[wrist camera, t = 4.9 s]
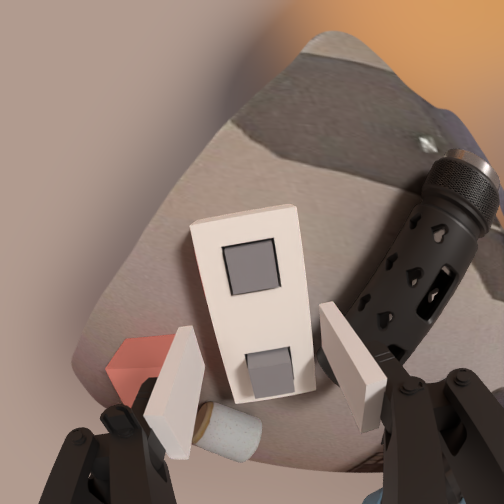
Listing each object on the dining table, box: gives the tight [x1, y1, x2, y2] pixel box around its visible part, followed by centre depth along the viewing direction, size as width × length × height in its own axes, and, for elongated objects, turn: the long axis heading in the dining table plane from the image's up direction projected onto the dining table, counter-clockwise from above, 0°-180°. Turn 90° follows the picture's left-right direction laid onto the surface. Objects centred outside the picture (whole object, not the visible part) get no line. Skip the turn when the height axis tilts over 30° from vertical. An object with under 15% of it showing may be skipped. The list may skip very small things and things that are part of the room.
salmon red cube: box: [105, 334, 176, 408], centre depth 30 cm, size 8×8×7 cm
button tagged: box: [224, 238, 279, 295], centre depth 28 cm, size 4×4×4 cm
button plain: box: [247, 347, 295, 399], centre depth 29 cm, size 4×4×4 cm
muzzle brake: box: [317, 149, 500, 387], centre depth 26 cm, size 10×28×10 cm, turn 149°
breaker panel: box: [190, 204, 316, 404], centre depth 30 cm, size 22×10×4 cm, turn 10°
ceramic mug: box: [192, 402, 262, 462], centre depth 33 cm, size 11×8×8 cm
